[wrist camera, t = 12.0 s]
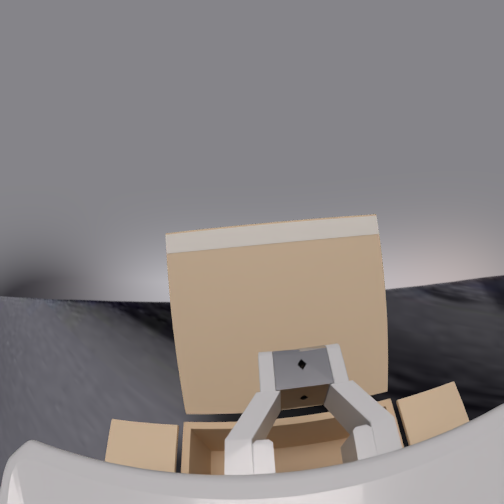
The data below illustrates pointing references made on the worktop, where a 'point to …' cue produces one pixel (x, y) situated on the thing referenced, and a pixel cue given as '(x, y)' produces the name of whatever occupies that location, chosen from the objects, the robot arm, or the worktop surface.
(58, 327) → the worktop surface
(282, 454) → the carton box
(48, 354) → the worktop surface
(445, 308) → the worktop surface
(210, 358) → the flap
